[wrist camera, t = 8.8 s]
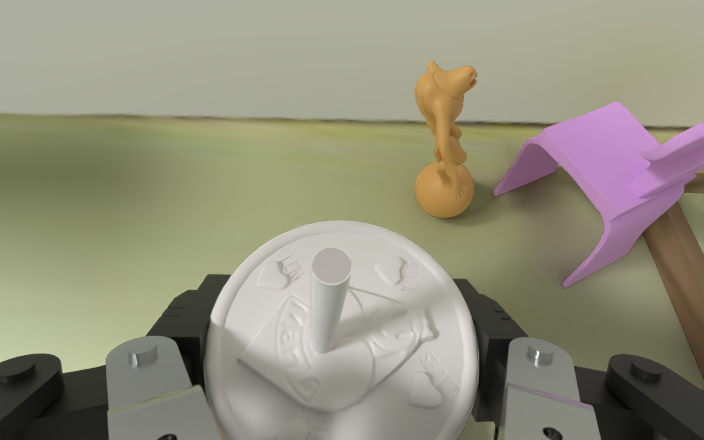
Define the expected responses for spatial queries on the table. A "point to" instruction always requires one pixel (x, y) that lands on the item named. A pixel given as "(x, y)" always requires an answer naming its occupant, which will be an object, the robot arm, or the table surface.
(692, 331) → the tray rim
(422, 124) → the table surface
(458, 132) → the figurine
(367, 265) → the smoothie
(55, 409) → the robot arm
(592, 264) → the toy chair
